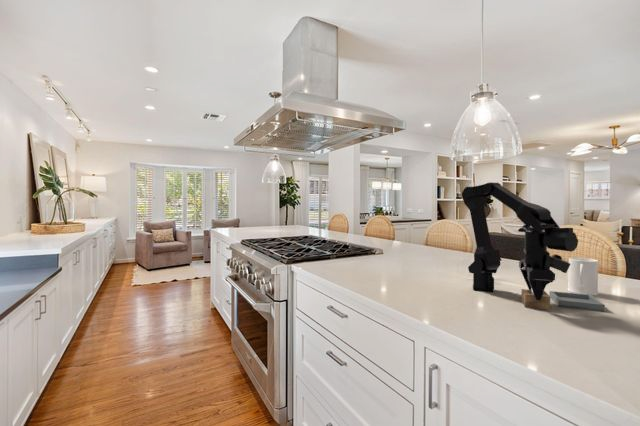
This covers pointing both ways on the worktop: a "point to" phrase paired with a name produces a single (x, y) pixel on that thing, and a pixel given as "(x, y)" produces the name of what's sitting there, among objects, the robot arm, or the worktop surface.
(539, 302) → the brown square socket block
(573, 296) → the tray
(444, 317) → the worktop surface
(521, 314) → the worktop surface
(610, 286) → the worktop surface
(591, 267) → the mug
